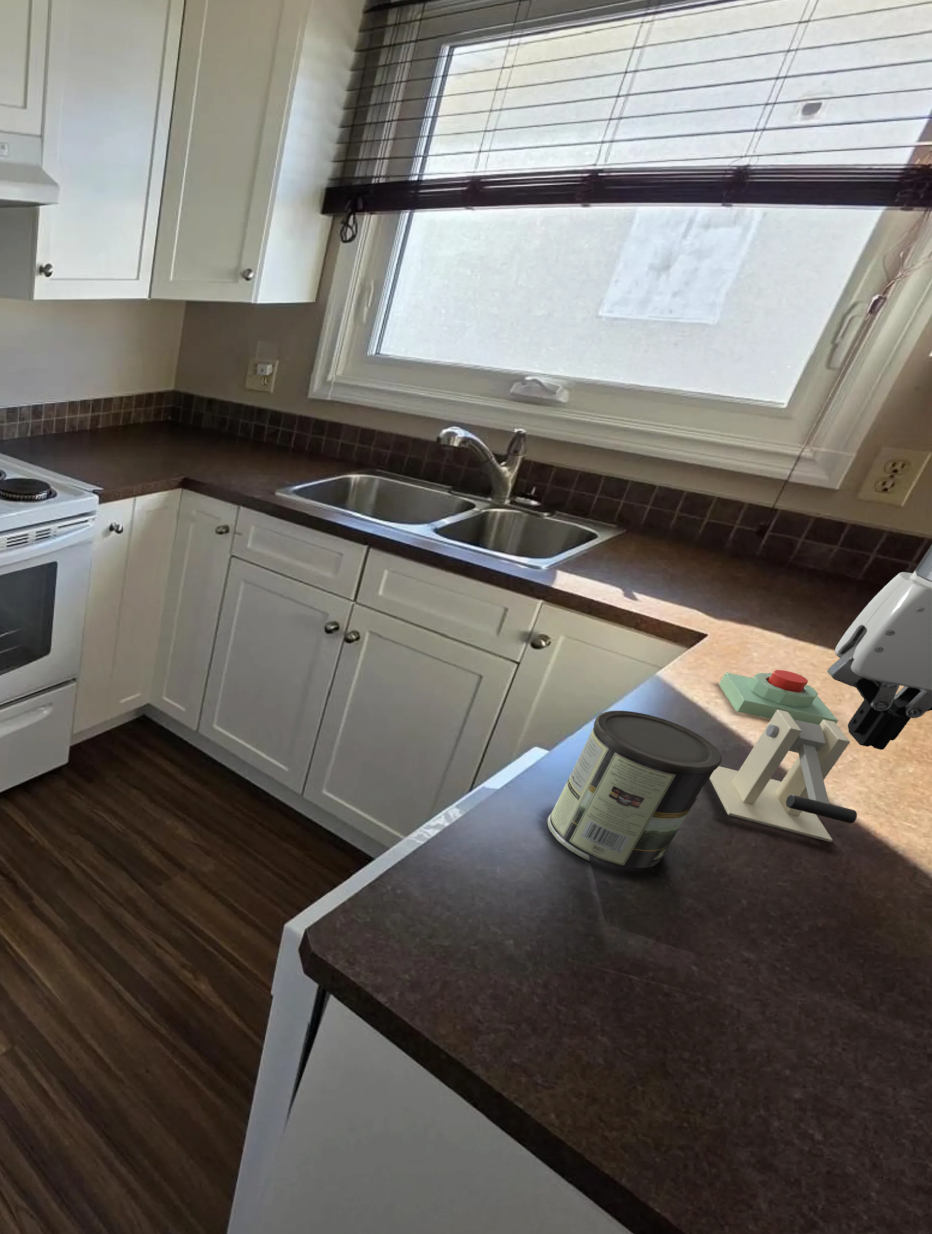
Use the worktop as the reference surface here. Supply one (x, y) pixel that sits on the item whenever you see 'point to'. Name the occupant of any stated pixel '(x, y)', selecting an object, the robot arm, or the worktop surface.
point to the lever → (815, 777)
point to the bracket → (765, 797)
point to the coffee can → (631, 788)
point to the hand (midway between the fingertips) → (864, 740)
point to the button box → (773, 699)
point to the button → (788, 681)
